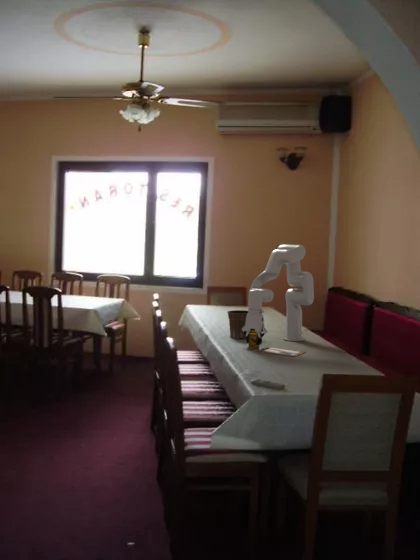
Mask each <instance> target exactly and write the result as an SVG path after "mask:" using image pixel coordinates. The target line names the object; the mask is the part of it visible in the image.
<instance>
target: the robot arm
mask: <svg viewBox="0 0 420 560" xmlns="http://www.w3.org/2000/svg"><path fill="white" fill-rule="evenodd" d="M270 253H271V254H270V255H269V258H268V262H267V263H266V266H265V269H264V271H263V272H261V273H260V274H258V275H257V277H255V278H254V279H253V281H252V283H251V286H250V289H249V291H248V303H247V305H248V306H247V309H248V310H247V311H248V314H247V317H246V323H245V326H244V327H243V328H242V331H243V332H244V333H245V335H246V336H247V337H246V344H248V345H249V332H250V329H255V332H256V333H258V336H259V338H258V345H259V346H260V345H262V343H263V337H264V336H265V335H266V334H267V333H268V331H267V329H266V328H265V318H264V313H265V311H264V310H263V303H269V302H271V301H273V299H274V297H275V295H274V294H275V293H274V291H273V290H272V289H270V288H261V287H262V285H264V284H265V283H267V282H269V281H272V280H275V279H277V278H278V277H279V275H280V272H281V270H282V268H283V265H285V267H286V280H287V284H288V285H289V286H290V287H292V288H288V289H287V290H286V292H285V294H284V295H285V303H286V317H285V318H286V319H285V321H286V323H285V336H283V337H282V340H284V341H288V342H289V341H290V342H302V341H304V340H305V337H302V335H303V326H302V325H303V310H302V306H301V305H303V306H311V305H312V304H313V303H314V299H315V291H314V290H315V289H314V277H313V275H312V273H311V272H309V271H302V269H301V268H302V267H301V265H302V264H301V260H303V259H304V257H305V256H306V254H307V253H306V248H305V246H303V245H302V244H289V243H287V244H280V245H279V246H277V249H276V248H275V249H273V250H272V251H271V252H270Z"/></svg>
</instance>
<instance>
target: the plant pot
mask: <svg viewBox="0 0 420 560" xmlns="http://www.w3.org/2000/svg"><path fill="white" fill-rule="evenodd" d="M226 313H227V317H228V323H229V325H228V326H229V336H230V338H231V337H232V338H231V339H234V338H241V339H244V340H245V338H246V337H247V336H246V335H245V333H244V332H243V331H242V328H243V327H244V326H245V323H246V317H247V314H248V310H235V309H234V310H228V311H227V312H226Z"/></svg>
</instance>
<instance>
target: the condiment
mask: <svg viewBox="0 0 420 560" xmlns="http://www.w3.org/2000/svg"><path fill="white" fill-rule="evenodd" d="M258 338H259V336H258V333H256V332H255V329H250V332H249V343H248V346H247V347H245V349H244V350H247V349H249V350H248V351H255V352H256V351H257V352H258V351H260V350H262V348H263V347H260V345H258Z"/></svg>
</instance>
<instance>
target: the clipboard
mask: <svg viewBox="0 0 420 560" xmlns="http://www.w3.org/2000/svg"><path fill="white" fill-rule="evenodd" d="M261 348H262V349H260V350H257V352H258V353H261V354H262V353H264V354H269V355H276V356H277V355H278V356H285V357H291V358H292V357H293V358H296V357H298V356H301V355H303V354H305V353H307V352H306V351H302V350H295V349H287V348H281V347H272V346H264V347H261Z"/></svg>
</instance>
